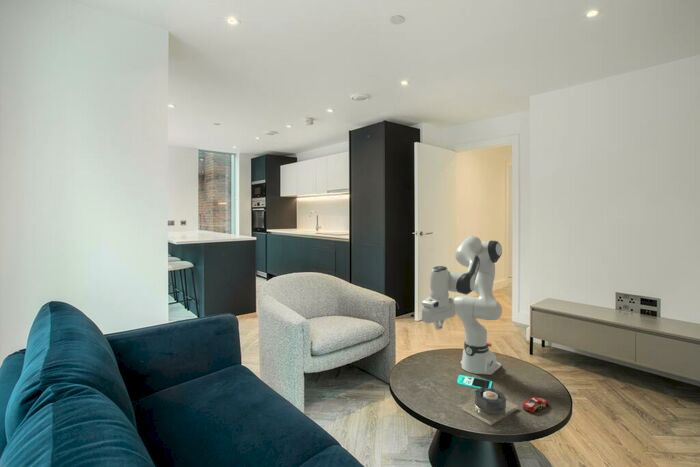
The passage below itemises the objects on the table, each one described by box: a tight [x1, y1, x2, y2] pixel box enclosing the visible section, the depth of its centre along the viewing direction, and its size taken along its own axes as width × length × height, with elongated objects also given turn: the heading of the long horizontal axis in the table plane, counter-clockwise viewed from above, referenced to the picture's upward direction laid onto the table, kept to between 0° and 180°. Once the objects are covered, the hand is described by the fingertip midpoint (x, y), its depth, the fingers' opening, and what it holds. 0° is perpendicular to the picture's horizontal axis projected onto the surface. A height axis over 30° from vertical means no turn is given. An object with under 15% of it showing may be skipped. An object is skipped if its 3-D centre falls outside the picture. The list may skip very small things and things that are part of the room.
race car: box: [522, 396, 550, 414], centre depth 154 cm, size 13×5×4 cm, turn 118°
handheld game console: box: [456, 374, 493, 390], centre depth 176 cm, size 10×16×1 cm, turn 63°
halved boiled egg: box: [483, 391, 498, 400], centre depth 153 cm, size 6×6×4 cm
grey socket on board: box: [461, 387, 519, 426], centre depth 153 cm, size 20×14×6 cm
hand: (439, 328), depth 171 cm, fingers closed
